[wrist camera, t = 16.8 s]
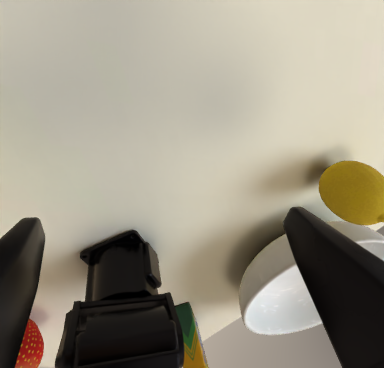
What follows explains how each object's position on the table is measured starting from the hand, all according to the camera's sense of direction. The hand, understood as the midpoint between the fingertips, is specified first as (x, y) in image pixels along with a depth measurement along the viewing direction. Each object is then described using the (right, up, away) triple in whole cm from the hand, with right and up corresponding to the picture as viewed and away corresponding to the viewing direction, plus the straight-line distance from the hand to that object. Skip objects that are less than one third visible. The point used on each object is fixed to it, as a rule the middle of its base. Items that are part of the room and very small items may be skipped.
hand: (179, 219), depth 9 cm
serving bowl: (+15, -9, +28) cm, 33 cm away
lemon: (+15, +3, +19) cm, 25 cm away
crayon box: (-1, -20, +32) cm, 37 cm away
